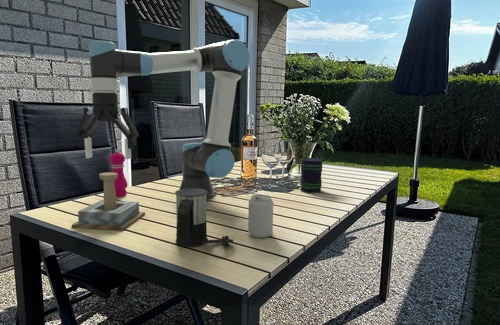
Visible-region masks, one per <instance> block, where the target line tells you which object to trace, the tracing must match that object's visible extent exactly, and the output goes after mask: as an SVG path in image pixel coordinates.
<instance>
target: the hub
mask: <svg viewBox="0 0 500 325" xmlns="http://www.w3.org/2000/svg"><path fill="white" fill-rule="evenodd" d="M116 203H117V209H115V210H105V209H104V199H103V200H102V199H100V200H99V201H97V202H94V203H92V204H91V205H88V206H86V207H84V208H82V209H80V210H78V211H77V215H78V216H77V217H78V219H77V220H78V221H75V222H74V223H72V224H71V229H85V230H86V229H88V230H101V231H102V230H105V231H120V232H123V231H125V230H126V229H127V228H129V227H130V226H132V225H133V224H134V223H136V222H137V221H139V220H140V219H141V218H142V217H144V216H145V215H146V212H145V211H140V202H139V201H128V200H127V201H124V200H116Z"/></svg>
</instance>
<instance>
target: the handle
mask: <svg viewBox="0 0 500 325" xmlns="http://www.w3.org/2000/svg"><path fill="white" fill-rule="evenodd" d="M98 175H99V179H100V180H101V181H103V200H104V209H105V210H115V209H117V203H116V201H117V197H116V194H115V185H114V180H115V179H116V178H118V174H117V173H113V171H112V172H102V173H101V172H100V173H99V174H98Z"/></svg>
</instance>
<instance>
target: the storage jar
mask: <svg viewBox="0 0 500 325" xmlns="http://www.w3.org/2000/svg"><path fill="white" fill-rule="evenodd" d="M300 171H301V173H300V174H301V176H300V182H299V186H300V190H301V191H300V192H303V193H306V194H319V193H321V192H322V184H323V180H322V172H323V159H322V158H317V157H303V158H301V163H300Z"/></svg>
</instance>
